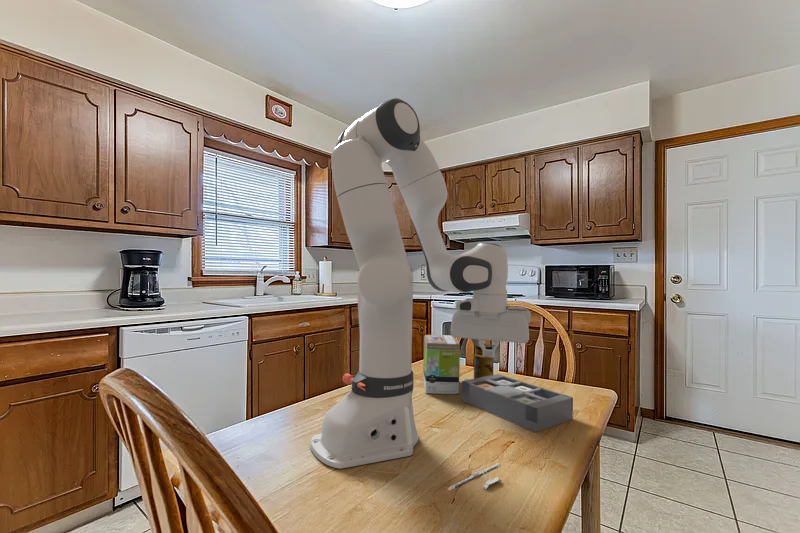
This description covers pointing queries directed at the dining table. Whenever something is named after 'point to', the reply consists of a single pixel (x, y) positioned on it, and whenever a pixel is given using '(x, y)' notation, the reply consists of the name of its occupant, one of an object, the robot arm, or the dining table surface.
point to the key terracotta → (485, 386)
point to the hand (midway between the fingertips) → (488, 356)
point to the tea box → (441, 364)
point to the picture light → (478, 476)
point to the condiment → (482, 363)
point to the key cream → (524, 390)
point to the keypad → (518, 402)
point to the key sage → (526, 400)
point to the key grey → (504, 383)
